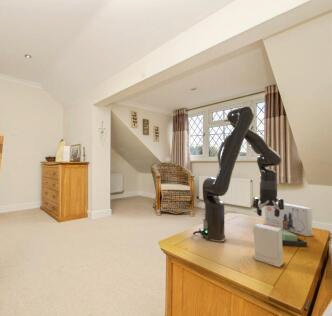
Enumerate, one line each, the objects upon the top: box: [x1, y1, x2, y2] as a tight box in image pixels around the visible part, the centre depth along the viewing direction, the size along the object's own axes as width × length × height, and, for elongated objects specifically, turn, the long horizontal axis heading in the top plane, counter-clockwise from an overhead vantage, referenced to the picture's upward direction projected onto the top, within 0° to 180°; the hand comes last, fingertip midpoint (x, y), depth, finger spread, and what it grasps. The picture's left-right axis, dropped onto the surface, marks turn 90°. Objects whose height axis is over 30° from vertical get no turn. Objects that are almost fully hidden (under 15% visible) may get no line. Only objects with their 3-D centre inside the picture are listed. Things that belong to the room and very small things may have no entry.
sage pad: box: [282, 230, 298, 241], centre depth 102 cm, size 6×8×4 cm
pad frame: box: [282, 237, 308, 248], centre depth 106 cm, size 12×19×2 cm, turn 170°
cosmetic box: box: [253, 223, 284, 268], centre depth 82 cm, size 8×6×15 cm
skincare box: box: [264, 202, 313, 237], centre depth 119 cm, size 21×5×16 cm, turn 17°
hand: (267, 216), depth 111 cm, fingers open, 8 cm apart
